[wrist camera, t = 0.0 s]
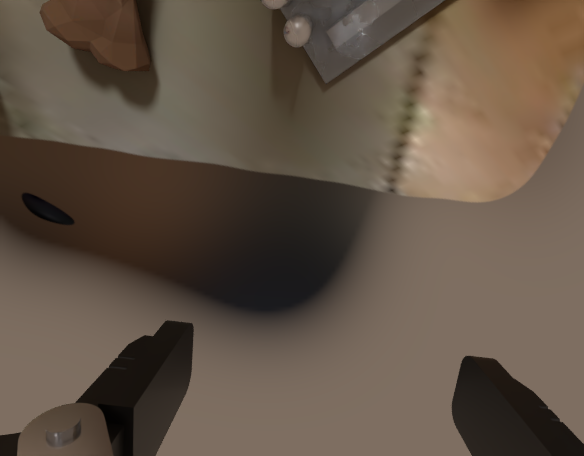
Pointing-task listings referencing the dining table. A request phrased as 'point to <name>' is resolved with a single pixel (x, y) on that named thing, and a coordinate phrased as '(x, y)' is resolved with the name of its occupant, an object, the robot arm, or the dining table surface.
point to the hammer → (100, 30)
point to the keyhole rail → (358, 41)
